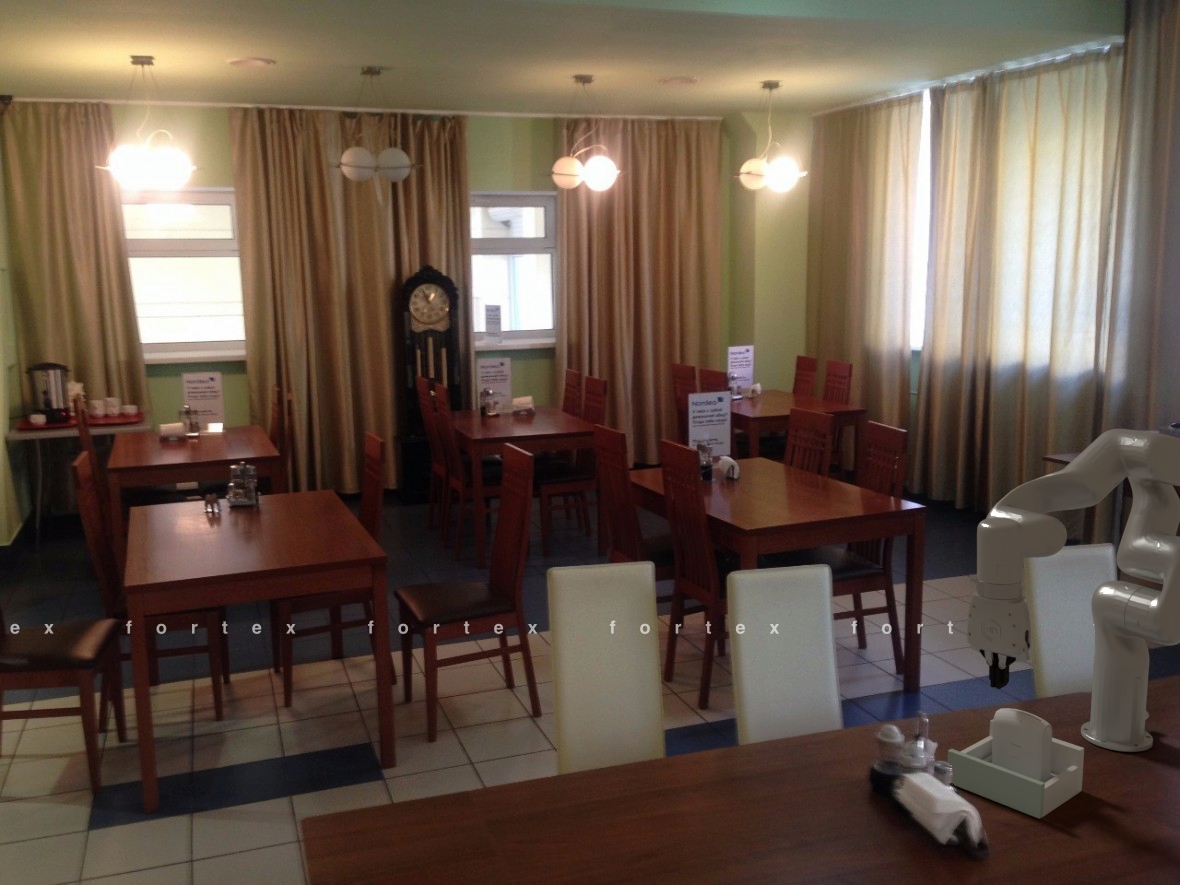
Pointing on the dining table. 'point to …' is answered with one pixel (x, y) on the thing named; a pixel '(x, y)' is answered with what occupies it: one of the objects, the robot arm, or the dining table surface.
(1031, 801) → the tray
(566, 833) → the dining table surface
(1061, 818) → the dining table surface
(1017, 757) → the photo printer
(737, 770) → the dining table surface
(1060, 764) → the dock
